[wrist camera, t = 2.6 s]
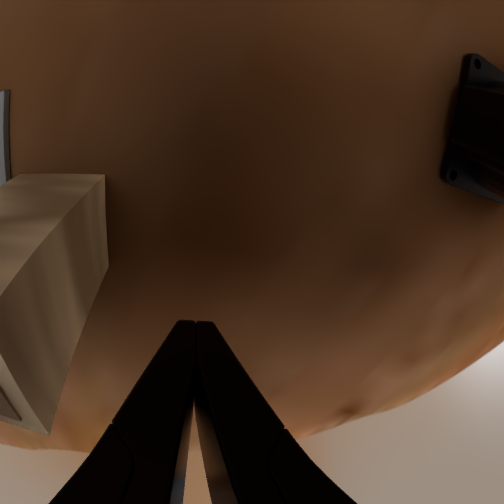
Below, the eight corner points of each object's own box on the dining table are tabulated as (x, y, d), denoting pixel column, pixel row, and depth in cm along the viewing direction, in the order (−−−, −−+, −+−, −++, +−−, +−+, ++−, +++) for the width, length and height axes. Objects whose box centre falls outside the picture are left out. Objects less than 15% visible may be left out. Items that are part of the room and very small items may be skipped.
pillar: (104, 174, 11) (-18, 323, 4) (108, 266, 12) (49, 438, 5) (19, 173, 10) (-118, 290, 3) (31, 258, 12) (-55, 400, 5)
